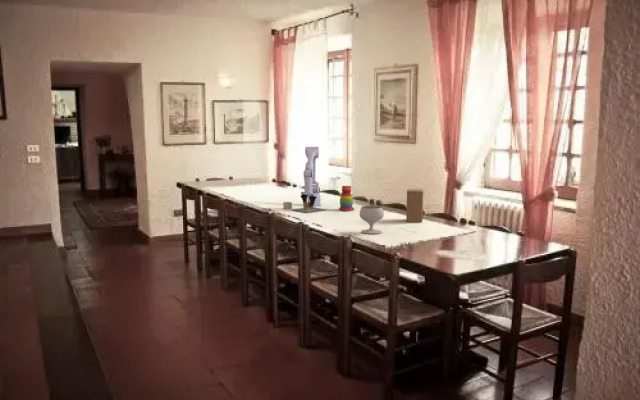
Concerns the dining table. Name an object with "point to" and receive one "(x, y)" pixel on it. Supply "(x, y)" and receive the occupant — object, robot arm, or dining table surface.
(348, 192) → the stacking bear
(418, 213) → the wooden block
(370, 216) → the chalice
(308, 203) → the walnut block
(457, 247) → the dining table surface
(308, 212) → the blueprint board
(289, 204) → the sage block
